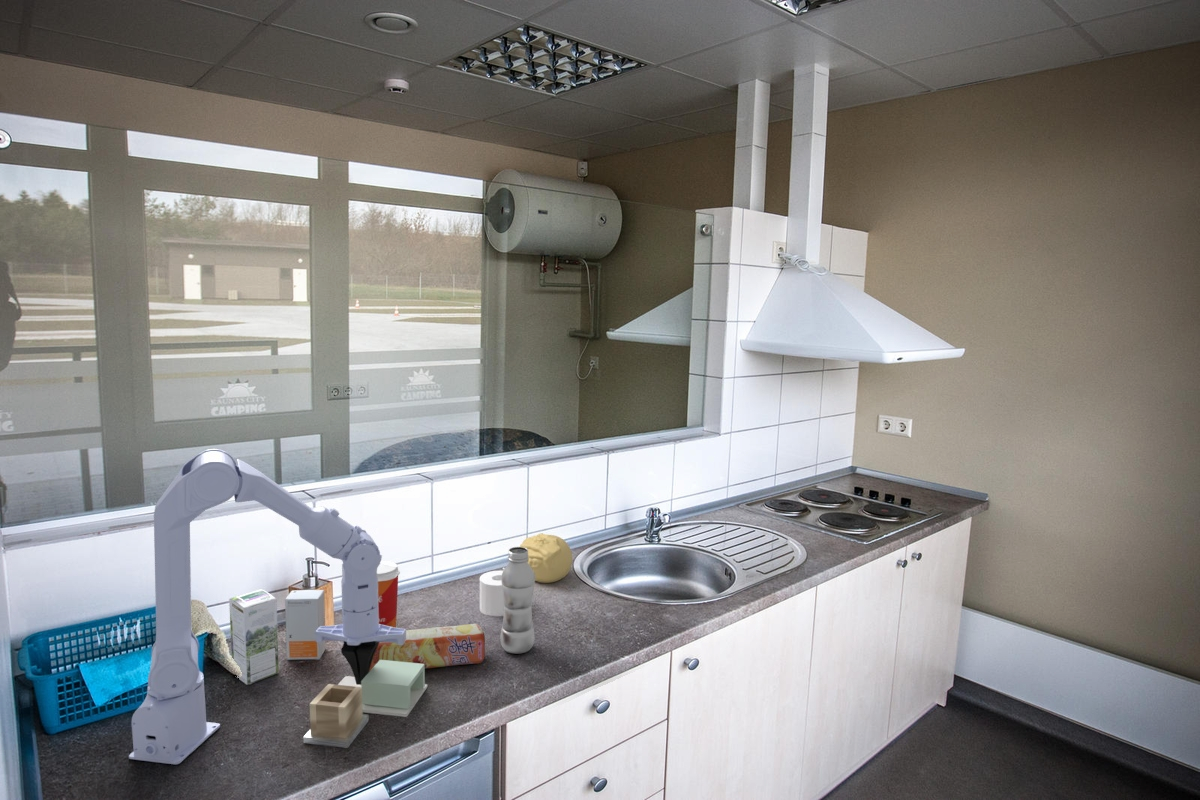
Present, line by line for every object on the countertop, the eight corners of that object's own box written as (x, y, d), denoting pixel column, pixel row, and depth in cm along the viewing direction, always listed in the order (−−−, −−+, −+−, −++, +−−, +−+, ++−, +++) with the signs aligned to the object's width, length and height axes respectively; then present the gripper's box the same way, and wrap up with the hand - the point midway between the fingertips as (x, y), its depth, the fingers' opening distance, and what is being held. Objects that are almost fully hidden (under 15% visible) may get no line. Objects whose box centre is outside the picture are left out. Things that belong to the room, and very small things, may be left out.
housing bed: (406, 717, 115) (406, 703, 115) (319, 707, 117) (318, 694, 117) (427, 686, 124) (427, 674, 124) (345, 678, 126) (345, 666, 126)
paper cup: (353, 634, 142) (351, 566, 140) (388, 621, 148) (386, 557, 146) (373, 648, 137) (372, 578, 135) (408, 634, 143) (407, 567, 141)
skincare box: (286, 661, 132) (283, 599, 130) (293, 649, 136) (291, 589, 134) (320, 660, 132) (318, 598, 130) (326, 648, 136) (324, 588, 135)
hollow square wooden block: (345, 738, 108) (344, 707, 107) (310, 734, 109) (309, 703, 108) (362, 716, 114) (361, 687, 113) (329, 713, 114) (328, 683, 114)
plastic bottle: (519, 638, 143) (520, 541, 140) (541, 650, 138) (543, 551, 135) (493, 648, 138) (493, 549, 135) (514, 662, 133) (515, 559, 130)
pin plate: (347, 748, 107) (346, 726, 107) (303, 742, 108) (302, 721, 108) (368, 720, 114) (368, 700, 114) (327, 716, 115) (326, 695, 115)
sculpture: (512, 578, 172) (512, 534, 170) (547, 564, 181) (548, 523, 180) (546, 591, 165) (546, 546, 163) (581, 577, 174) (582, 534, 172)
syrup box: (264, 662, 131) (260, 587, 129) (280, 674, 127) (276, 596, 125) (232, 674, 127) (227, 597, 124) (247, 687, 123) (243, 607, 121)
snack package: (480, 650, 137) (480, 616, 137) (486, 666, 131) (486, 631, 130) (363, 664, 131) (363, 628, 130) (363, 681, 124) (363, 644, 124)
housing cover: (408, 708, 116) (408, 685, 116) (361, 703, 117) (361, 681, 117) (424, 685, 123) (424, 663, 123) (380, 681, 124) (380, 659, 124)
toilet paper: (509, 592, 164) (509, 563, 163) (521, 613, 153) (521, 583, 152) (473, 597, 161) (473, 567, 160) (483, 618, 151) (483, 587, 150)
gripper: (306, 614, 115) (309, 693, 117) (396, 617, 115) (398, 696, 117) (324, 595, 122) (326, 670, 124) (409, 598, 122) (410, 673, 124)
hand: (362, 681), depth 121 cm, fingers closed
